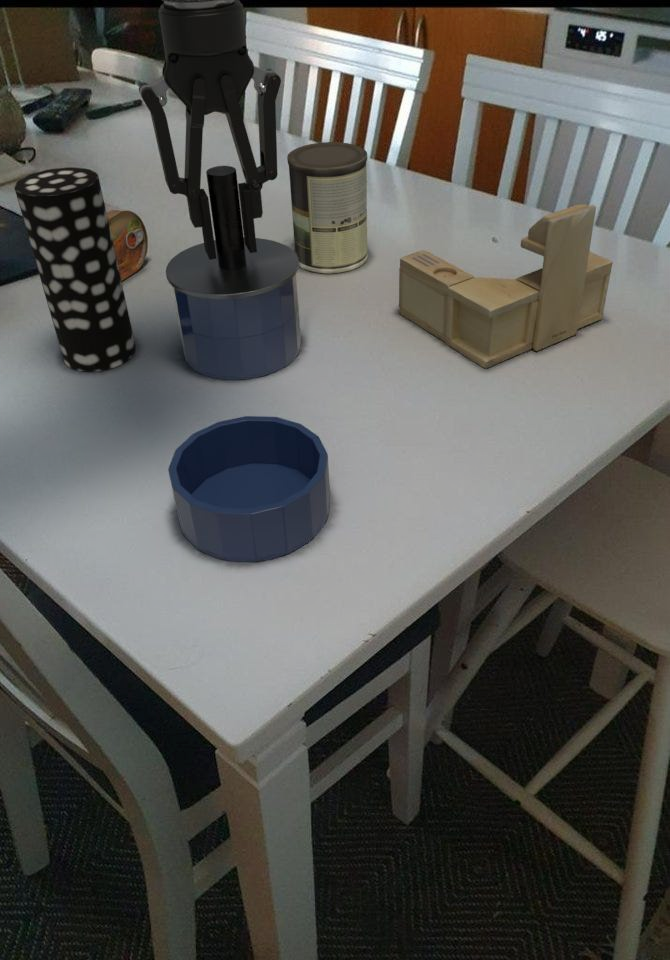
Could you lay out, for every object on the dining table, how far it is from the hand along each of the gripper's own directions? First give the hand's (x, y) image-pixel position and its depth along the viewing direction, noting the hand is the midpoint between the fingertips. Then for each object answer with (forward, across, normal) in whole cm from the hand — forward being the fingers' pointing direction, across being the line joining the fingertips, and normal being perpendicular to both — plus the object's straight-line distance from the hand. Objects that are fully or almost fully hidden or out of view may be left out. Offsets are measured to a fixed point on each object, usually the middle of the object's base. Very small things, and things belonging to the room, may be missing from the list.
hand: (230, 250), depth 87 cm
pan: (+12, -5, -28) cm, 31 cm away
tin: (+12, -13, +24) cm, 30 cm away
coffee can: (+12, +17, +20) cm, 29 cm away
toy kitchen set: (+12, +31, -4) cm, 33 cm away
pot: (+12, 0, 0) cm, 12 cm away
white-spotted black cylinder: (+12, -16, +5) cm, 21 cm away
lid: (+2, 0, 0) cm, 2 cm away
